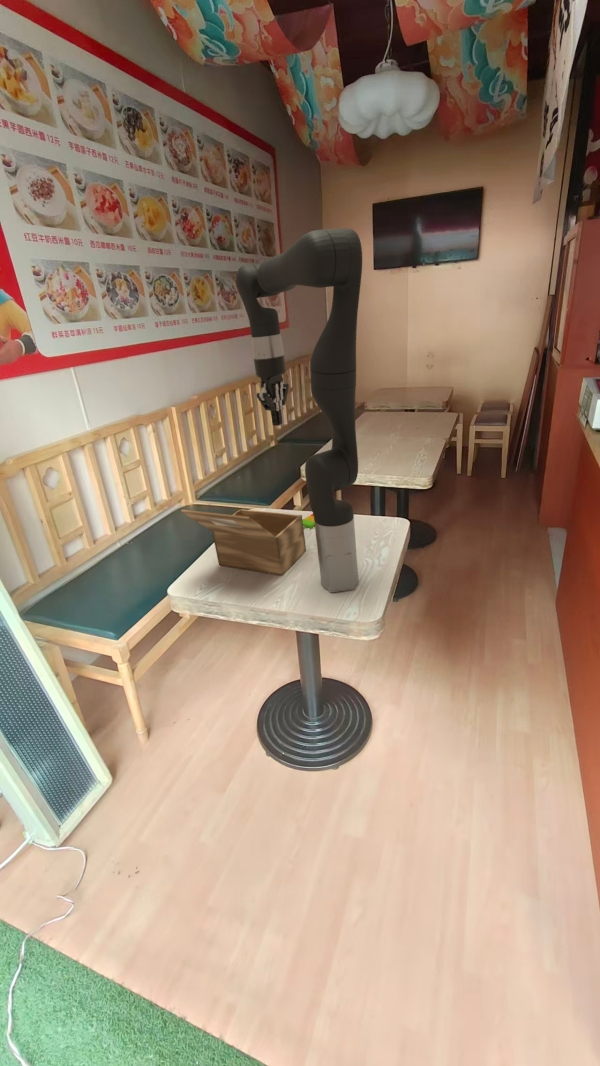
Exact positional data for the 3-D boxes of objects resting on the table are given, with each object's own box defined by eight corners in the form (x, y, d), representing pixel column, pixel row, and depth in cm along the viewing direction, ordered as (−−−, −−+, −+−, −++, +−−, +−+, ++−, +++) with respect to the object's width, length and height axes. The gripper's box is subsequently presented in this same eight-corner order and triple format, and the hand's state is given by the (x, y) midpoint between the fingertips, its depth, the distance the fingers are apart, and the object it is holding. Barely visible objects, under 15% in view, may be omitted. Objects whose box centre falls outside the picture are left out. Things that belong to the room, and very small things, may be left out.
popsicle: (330, 519, 163) (329, 514, 163) (298, 538, 154) (297, 532, 153) (317, 516, 167) (316, 511, 166) (285, 534, 157) (284, 529, 157)
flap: (181, 509, 126) (180, 511, 126) (249, 516, 117) (248, 519, 117) (212, 529, 138) (211, 531, 138) (275, 537, 129) (275, 539, 129)
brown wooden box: (246, 543, 154) (240, 509, 149) (306, 551, 145) (301, 515, 140) (219, 565, 143) (211, 529, 138) (282, 575, 134) (276, 537, 129)
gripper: (268, 358, 120) (278, 432, 127) (294, 350, 130) (302, 418, 138) (241, 360, 123) (252, 431, 131) (268, 351, 134) (277, 418, 141)
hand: (277, 424), depth 134 cm, fingers closed
